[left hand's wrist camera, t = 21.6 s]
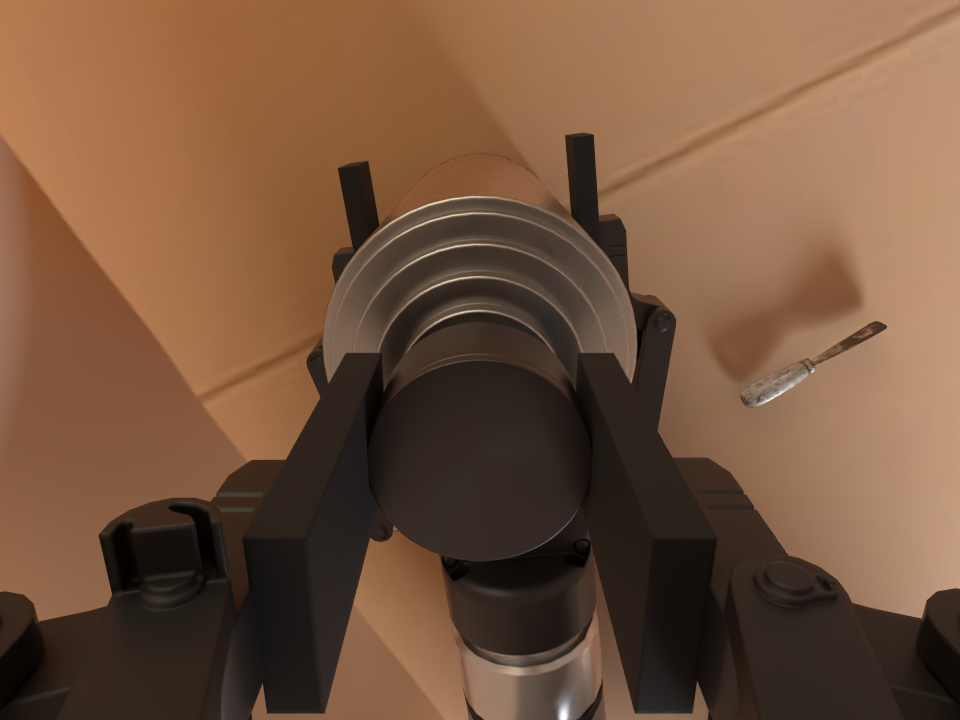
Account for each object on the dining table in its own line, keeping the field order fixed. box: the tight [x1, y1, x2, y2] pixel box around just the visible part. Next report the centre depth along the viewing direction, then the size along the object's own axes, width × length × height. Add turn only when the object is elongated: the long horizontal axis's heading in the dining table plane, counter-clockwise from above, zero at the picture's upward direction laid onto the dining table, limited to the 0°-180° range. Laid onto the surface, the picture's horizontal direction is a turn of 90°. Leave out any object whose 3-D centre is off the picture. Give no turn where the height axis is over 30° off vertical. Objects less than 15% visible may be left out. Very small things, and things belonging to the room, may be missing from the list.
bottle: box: [323, 154, 637, 392], centre depth 24 cm, size 8×8×23 cm
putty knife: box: [740, 321, 887, 408], centre depth 36 cm, size 1×8×2 cm, turn 126°
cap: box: [367, 322, 592, 561], centre depth 13 cm, size 4×4×2 cm
